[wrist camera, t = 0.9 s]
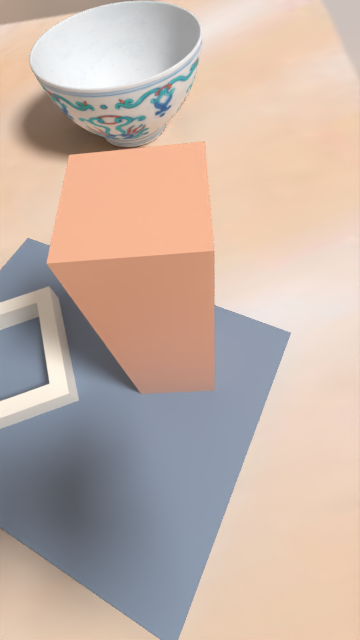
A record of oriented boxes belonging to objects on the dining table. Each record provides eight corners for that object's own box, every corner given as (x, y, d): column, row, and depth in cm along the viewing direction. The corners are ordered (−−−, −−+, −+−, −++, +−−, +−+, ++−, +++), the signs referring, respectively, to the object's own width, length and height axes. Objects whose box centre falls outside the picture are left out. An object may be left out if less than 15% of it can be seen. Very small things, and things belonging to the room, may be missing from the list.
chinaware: (111, 79, 40) (90, -6, 33) (227, 99, 36) (229, 7, 29) (37, 156, 34) (-7, 73, 28) (164, 191, 30) (149, 103, 23)
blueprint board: (177, 639, 16) (174, 649, 15) (-121, 435, 22) (-137, 431, 21) (287, 340, 22) (290, 332, 21) (34, 247, 28) (27, 237, 27)
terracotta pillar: (214, 390, 20) (214, 250, 9) (141, 393, 20) (46, 263, 9) (209, 324, 22) (204, 141, 11) (143, 328, 22) (69, 155, 11)
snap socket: (78, 400, 21) (69, 393, 19) (-50, 447, 20) (-70, 443, 19) (58, 298, 24) (49, 286, 23) (-50, 334, 24) (-67, 324, 22)
